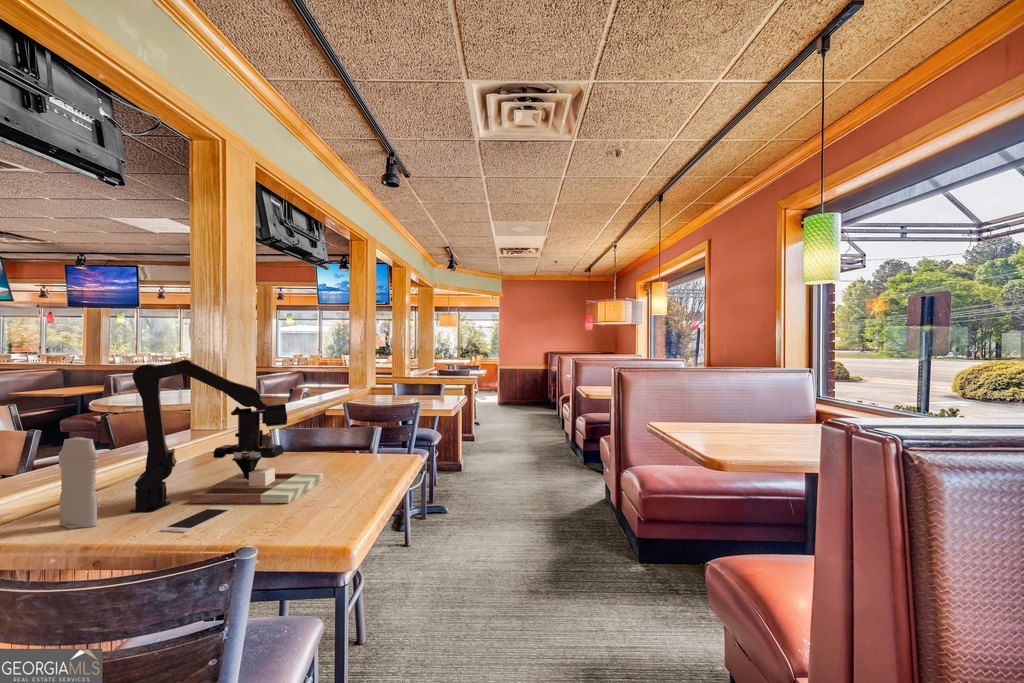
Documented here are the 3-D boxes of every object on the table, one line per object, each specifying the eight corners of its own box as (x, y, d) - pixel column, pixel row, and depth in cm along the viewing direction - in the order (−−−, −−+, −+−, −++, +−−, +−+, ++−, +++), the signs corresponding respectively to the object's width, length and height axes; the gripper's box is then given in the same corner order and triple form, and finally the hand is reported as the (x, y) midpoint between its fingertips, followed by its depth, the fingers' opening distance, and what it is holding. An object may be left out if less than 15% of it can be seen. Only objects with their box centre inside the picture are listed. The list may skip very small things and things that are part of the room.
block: (265, 485, 131) (265, 472, 131) (248, 485, 131) (248, 472, 131) (274, 480, 136) (274, 467, 136) (259, 480, 136) (258, 467, 136)
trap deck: (288, 503, 122) (288, 494, 122) (191, 503, 123) (191, 494, 123) (323, 480, 143) (323, 473, 143) (239, 480, 144) (239, 473, 144)
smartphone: (235, 510, 119) (235, 506, 119) (185, 534, 104) (185, 530, 104) (212, 509, 120) (212, 505, 120) (159, 533, 105) (159, 529, 105)
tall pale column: (50, 528, 107) (50, 438, 107) (68, 521, 111) (68, 435, 111) (88, 529, 106) (88, 439, 106) (105, 522, 110) (105, 435, 110)
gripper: (292, 423, 141) (292, 471, 141) (236, 423, 142) (236, 471, 142) (273, 430, 130) (273, 482, 130) (211, 430, 131) (211, 482, 131)
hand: (249, 479), depth 133 cm, fingers closed
